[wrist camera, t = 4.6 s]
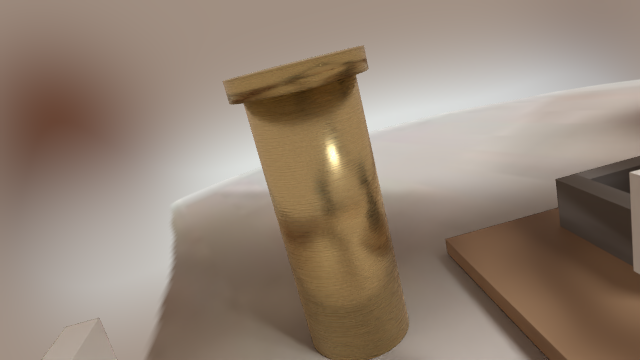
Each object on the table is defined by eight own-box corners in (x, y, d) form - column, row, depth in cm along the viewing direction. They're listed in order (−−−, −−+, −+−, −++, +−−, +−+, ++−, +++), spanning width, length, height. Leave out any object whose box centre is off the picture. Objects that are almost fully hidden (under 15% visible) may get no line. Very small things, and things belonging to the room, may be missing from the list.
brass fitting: (399, 282, 27) (349, 47, 23) (439, 347, 21) (379, 42, 17) (297, 311, 27) (228, 78, 23) (307, 386, 20) (215, 84, 17)
